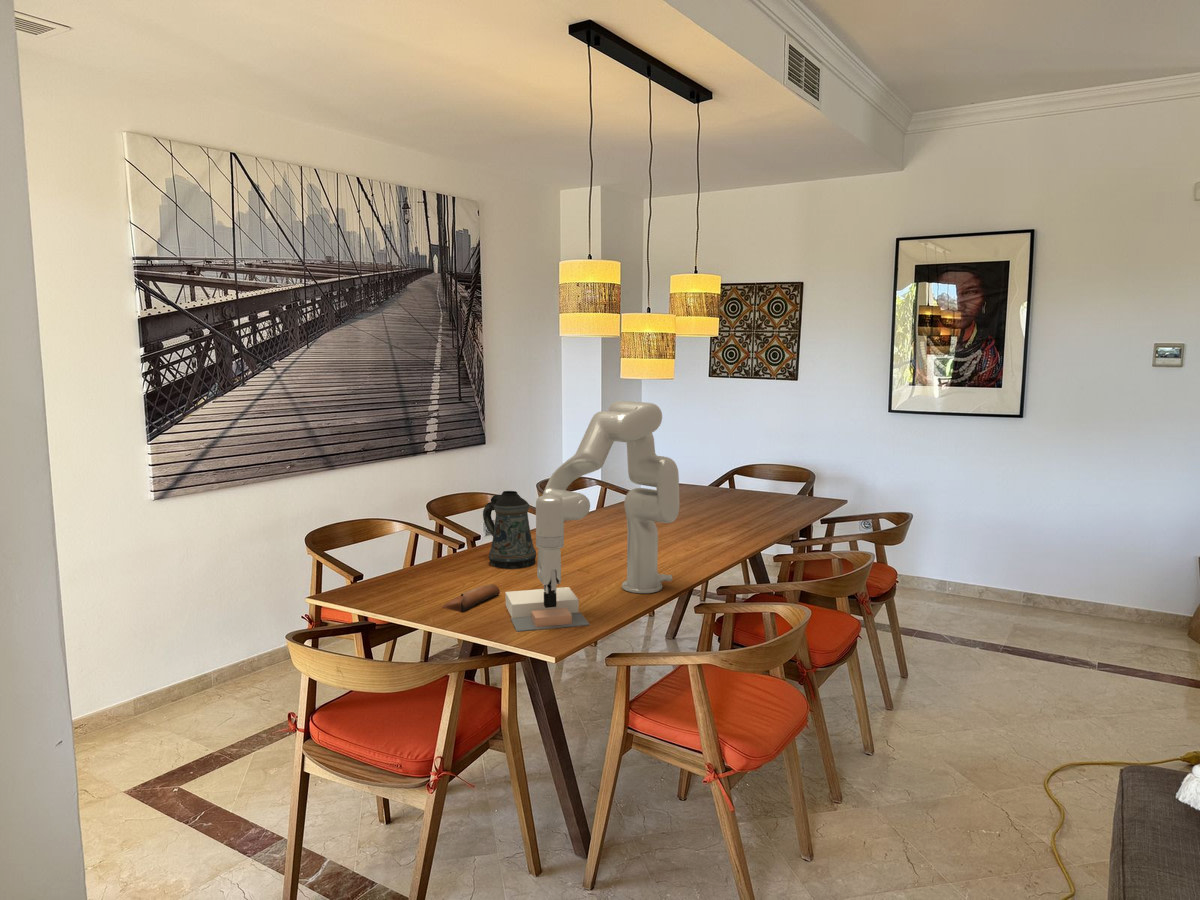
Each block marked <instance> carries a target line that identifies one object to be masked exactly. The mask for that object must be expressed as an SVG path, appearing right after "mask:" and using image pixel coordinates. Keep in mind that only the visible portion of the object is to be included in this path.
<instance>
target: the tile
mask: <svg viewBox="0 0 1200 900" xmlns="http://www.w3.org/2000/svg"><path fill="white" fill-rule="evenodd" d="M531 620H532V622H533V623H534V625H535V627H542V626H553V625H564V624H572V615H571V613H570V612H569V611H568V609H567V608H560V609H549V610H537V611H531Z"/></svg>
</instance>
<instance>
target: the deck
mask: <svg viewBox="0 0 1200 900" xmlns="http://www.w3.org/2000/svg"><path fill="white" fill-rule="evenodd" d="M545 592H546V591H545ZM579 600H580V599H579V598H578V597H577V596H576V594H575V593H574V591H572V589H571V588H570V587H569V586H568V587H566V586H565V587H556V607H550V608H545V606H544V588H540V589H539V588H538V589H537V588H536V589H525V590H524V589H523V590H514V591H513V590H512V591H505V607H506V609H507V610H508V613H509V615H510V616H511V618H520V617H531V611H537V610H549V609H560V608H567V609H568V611H569V612H570V613H579V602H580V601H579Z"/></svg>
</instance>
